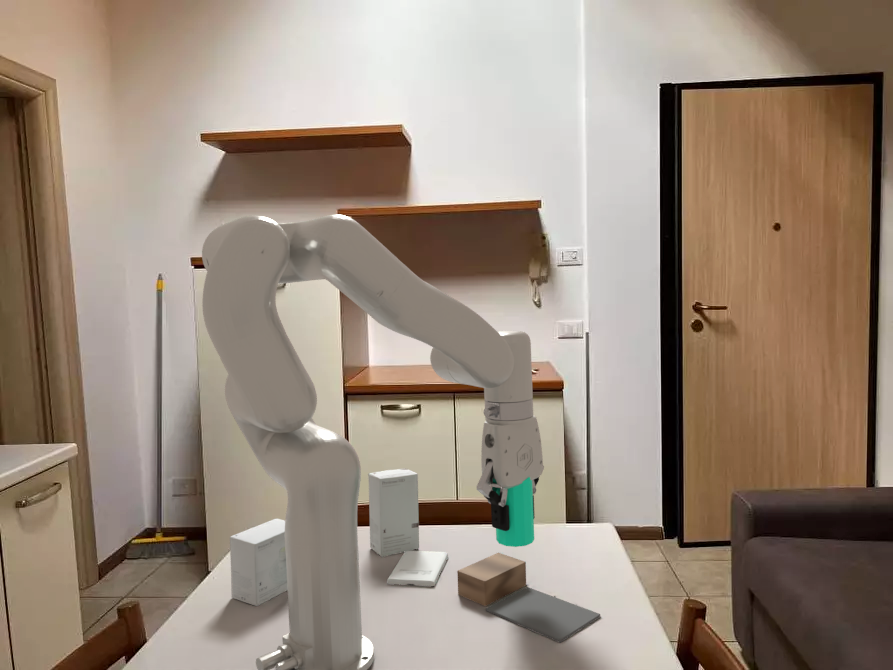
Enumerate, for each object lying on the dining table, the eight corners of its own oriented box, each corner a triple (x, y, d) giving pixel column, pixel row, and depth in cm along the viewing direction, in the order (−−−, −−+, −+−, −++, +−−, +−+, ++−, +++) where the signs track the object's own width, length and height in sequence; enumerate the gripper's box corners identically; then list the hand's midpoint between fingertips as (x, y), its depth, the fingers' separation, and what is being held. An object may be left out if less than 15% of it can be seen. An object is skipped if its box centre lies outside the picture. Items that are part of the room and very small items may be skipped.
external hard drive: (448, 560, 127) (434, 589, 114) (405, 558, 128) (387, 587, 116) (448, 551, 126) (434, 580, 114) (405, 550, 128) (386, 577, 116)
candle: (489, 537, 110) (486, 464, 109) (521, 529, 113) (518, 458, 112) (508, 549, 105) (505, 473, 104) (541, 541, 107) (538, 466, 106)
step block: (485, 606, 107) (484, 581, 106) (458, 594, 111) (457, 570, 111) (526, 585, 114) (525, 561, 113) (499, 575, 118) (498, 552, 118)
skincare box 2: (381, 558, 127) (377, 479, 126) (369, 547, 132) (365, 472, 131) (421, 548, 131) (418, 472, 130) (408, 539, 136) (405, 465, 135)
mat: (560, 642, 95) (560, 639, 95) (485, 610, 105) (485, 608, 105) (600, 616, 102) (600, 614, 102) (527, 589, 112) (527, 586, 112)
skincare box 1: (258, 607, 109) (254, 543, 108) (230, 598, 112) (227, 536, 112) (304, 582, 118) (302, 522, 117) (278, 575, 121) (275, 517, 120)
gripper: (490, 422, 98) (495, 545, 100) (561, 403, 110) (565, 513, 112) (453, 417, 104) (458, 533, 105) (525, 399, 116) (529, 504, 117)
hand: (513, 522), depth 108 cm, fingers closed on candle, 5 cm apart
